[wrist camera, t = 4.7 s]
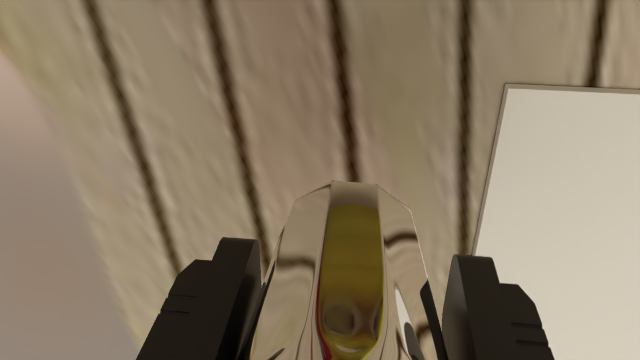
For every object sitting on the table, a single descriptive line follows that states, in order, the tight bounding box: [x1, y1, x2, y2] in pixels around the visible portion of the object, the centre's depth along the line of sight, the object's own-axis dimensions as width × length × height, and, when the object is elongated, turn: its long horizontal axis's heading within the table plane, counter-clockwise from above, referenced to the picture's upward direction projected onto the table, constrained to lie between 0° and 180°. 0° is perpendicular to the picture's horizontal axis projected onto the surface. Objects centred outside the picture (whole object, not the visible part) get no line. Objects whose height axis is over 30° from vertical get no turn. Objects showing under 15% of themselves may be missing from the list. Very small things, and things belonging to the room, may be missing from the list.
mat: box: [472, 84, 640, 360], centre depth 26 cm, size 18×16×1 cm
